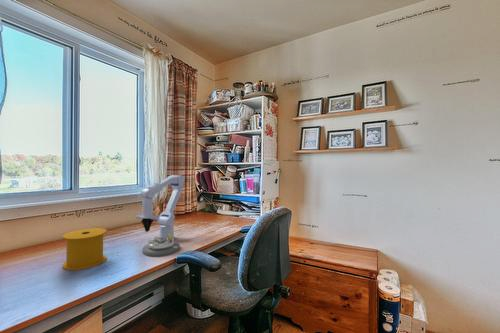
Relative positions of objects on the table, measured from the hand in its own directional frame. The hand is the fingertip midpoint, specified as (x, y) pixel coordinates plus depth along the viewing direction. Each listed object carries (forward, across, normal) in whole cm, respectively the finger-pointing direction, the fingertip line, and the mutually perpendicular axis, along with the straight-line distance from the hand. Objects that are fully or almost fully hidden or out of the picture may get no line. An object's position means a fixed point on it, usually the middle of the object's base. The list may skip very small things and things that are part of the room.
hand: (147, 231), depth 139 cm
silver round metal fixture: (+7, +11, -3) cm, 13 cm away
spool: (+10, -17, -26) cm, 33 cm away
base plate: (+9, +11, -3) cm, 15 cm away
